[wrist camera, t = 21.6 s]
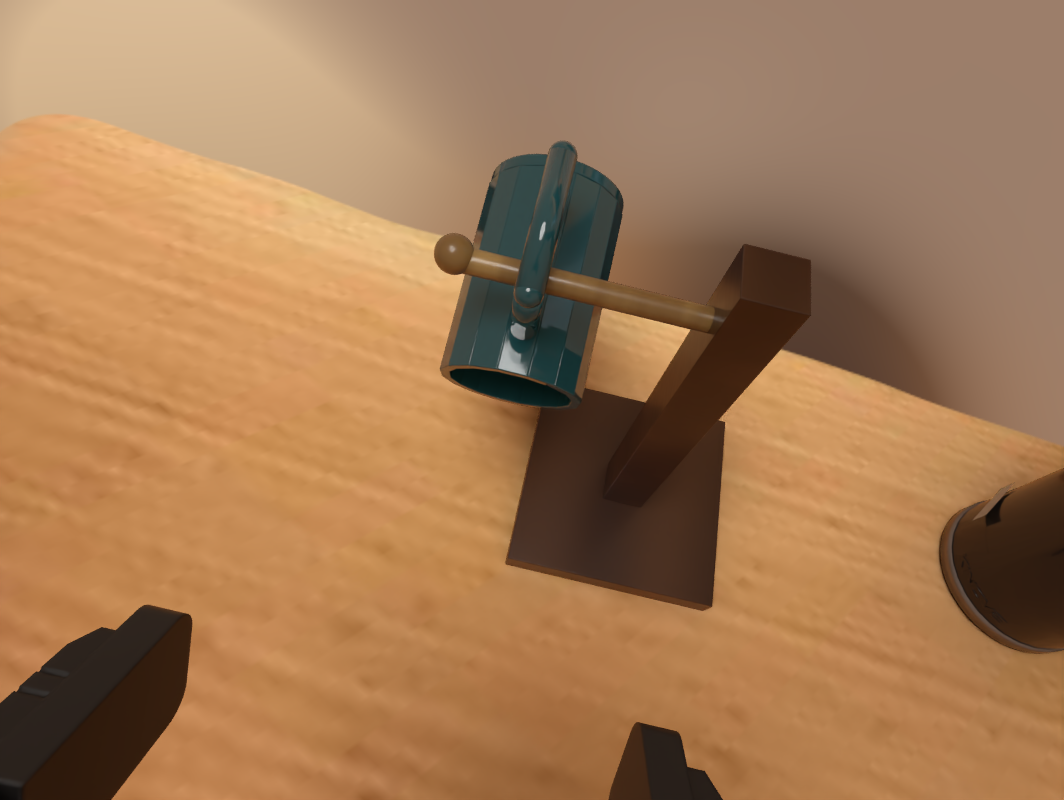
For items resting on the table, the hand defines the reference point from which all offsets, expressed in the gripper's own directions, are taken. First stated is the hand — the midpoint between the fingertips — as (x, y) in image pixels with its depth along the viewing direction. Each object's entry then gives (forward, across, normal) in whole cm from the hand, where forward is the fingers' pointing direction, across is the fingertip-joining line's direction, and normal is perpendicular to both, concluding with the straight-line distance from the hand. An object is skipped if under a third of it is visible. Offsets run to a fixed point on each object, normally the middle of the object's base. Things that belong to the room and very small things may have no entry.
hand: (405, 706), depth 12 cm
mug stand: (+29, -5, +7) cm, 30 cm away
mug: (+22, 0, -10) cm, 24 cm away
